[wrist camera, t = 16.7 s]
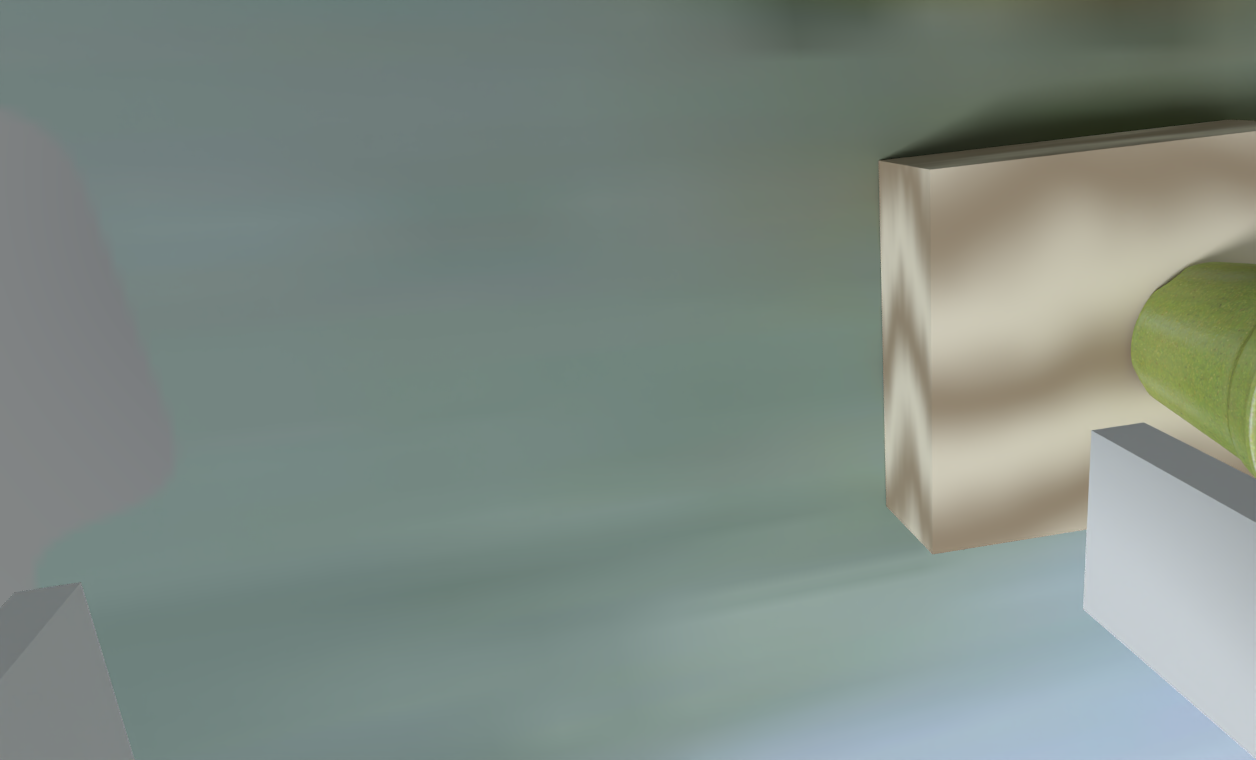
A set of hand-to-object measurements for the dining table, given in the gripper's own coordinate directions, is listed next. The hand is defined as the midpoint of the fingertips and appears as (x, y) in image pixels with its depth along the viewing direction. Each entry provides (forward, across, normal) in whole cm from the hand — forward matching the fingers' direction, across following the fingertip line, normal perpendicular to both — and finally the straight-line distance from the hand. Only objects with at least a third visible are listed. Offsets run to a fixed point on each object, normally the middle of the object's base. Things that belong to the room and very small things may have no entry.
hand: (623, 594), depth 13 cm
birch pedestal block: (+29, +23, -6) cm, 37 cm away
